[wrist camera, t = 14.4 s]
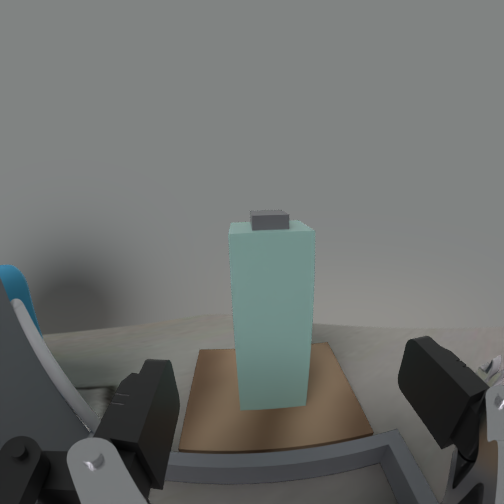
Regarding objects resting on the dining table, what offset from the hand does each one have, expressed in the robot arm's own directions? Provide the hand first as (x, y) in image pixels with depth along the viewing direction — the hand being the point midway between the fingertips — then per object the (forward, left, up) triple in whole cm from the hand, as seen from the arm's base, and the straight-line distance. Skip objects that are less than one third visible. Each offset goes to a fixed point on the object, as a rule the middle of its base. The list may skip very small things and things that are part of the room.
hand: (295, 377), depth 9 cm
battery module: (0, +9, -8) cm, 13 cm away
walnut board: (0, +9, -9) cm, 13 cm away
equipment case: (-4, -6, -9) cm, 12 cm away
